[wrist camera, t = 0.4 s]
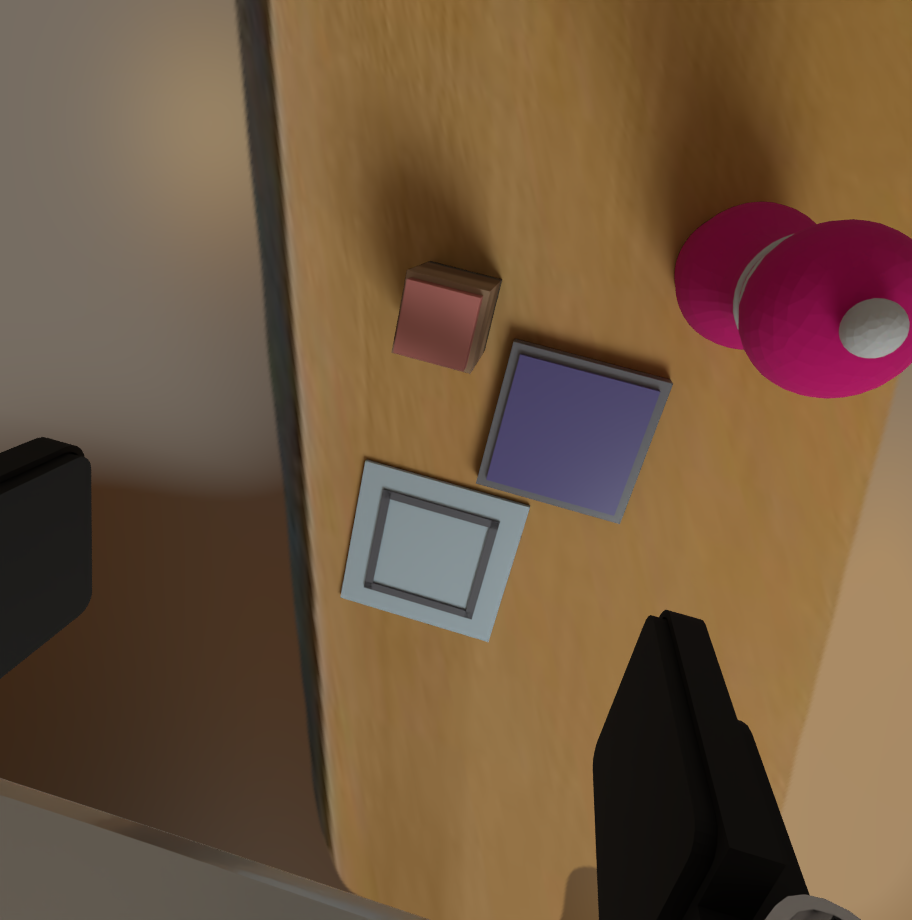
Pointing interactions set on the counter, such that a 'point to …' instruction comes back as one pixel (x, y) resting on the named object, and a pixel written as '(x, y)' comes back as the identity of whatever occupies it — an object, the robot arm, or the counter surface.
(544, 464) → the ink pad
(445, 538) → the light grey flat square
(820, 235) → the pepper mill
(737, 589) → the counter surface
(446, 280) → the stamp
